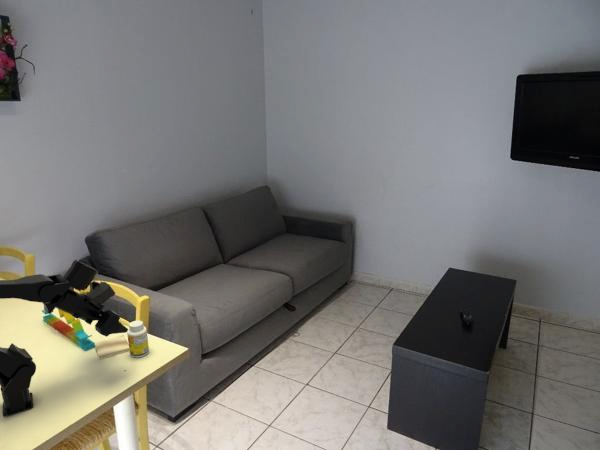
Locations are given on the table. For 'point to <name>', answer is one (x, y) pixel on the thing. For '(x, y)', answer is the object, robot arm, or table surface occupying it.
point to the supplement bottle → (137, 339)
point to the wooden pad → (111, 347)
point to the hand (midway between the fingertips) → (119, 325)
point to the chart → (70, 329)
